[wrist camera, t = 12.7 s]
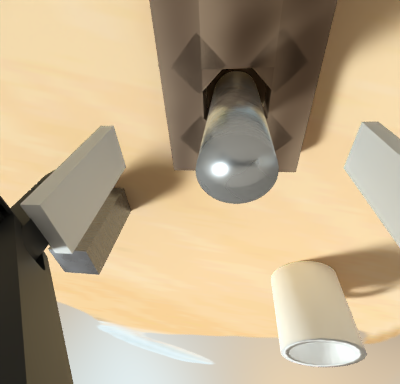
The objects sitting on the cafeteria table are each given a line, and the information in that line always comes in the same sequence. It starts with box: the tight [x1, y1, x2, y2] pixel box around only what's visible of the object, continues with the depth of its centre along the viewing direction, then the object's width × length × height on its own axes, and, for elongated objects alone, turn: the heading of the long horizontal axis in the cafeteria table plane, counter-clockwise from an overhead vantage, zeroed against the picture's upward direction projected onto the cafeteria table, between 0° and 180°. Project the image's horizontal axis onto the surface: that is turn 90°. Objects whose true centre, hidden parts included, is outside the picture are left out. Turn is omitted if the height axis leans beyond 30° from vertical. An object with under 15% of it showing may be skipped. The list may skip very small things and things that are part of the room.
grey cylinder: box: [196, 71, 279, 204], centre depth 16 cm, size 4×4×13 cm
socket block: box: [149, 0, 337, 172], centre depth 17 cm, size 12×24×3 cm, turn 3°
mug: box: [271, 261, 367, 367], centre depth 35 cm, size 14×10×11 cm
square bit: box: [49, 188, 131, 274], centre depth 28 cm, size 4×4×10 cm
